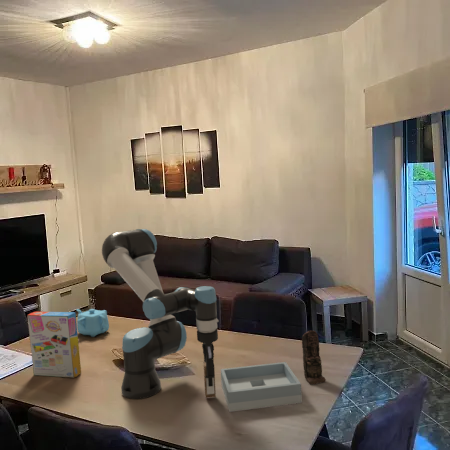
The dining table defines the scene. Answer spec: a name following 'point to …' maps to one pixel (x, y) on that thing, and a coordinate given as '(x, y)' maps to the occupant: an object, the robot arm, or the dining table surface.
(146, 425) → the dining table surface
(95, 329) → the teapot
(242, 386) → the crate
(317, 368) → the statue
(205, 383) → the peg
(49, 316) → the game box
